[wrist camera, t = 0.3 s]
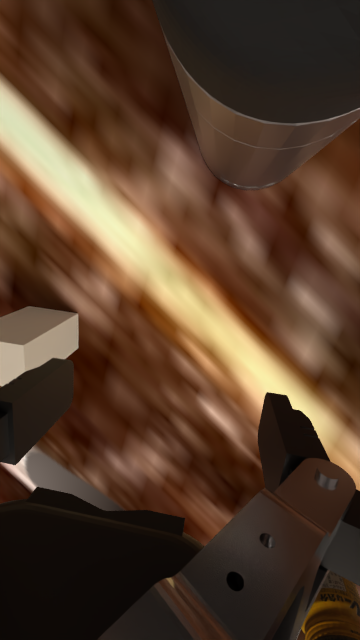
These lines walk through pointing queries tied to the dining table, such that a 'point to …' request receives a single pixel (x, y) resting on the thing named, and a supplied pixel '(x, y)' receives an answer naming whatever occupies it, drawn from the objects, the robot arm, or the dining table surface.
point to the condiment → (334, 611)
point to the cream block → (35, 339)
